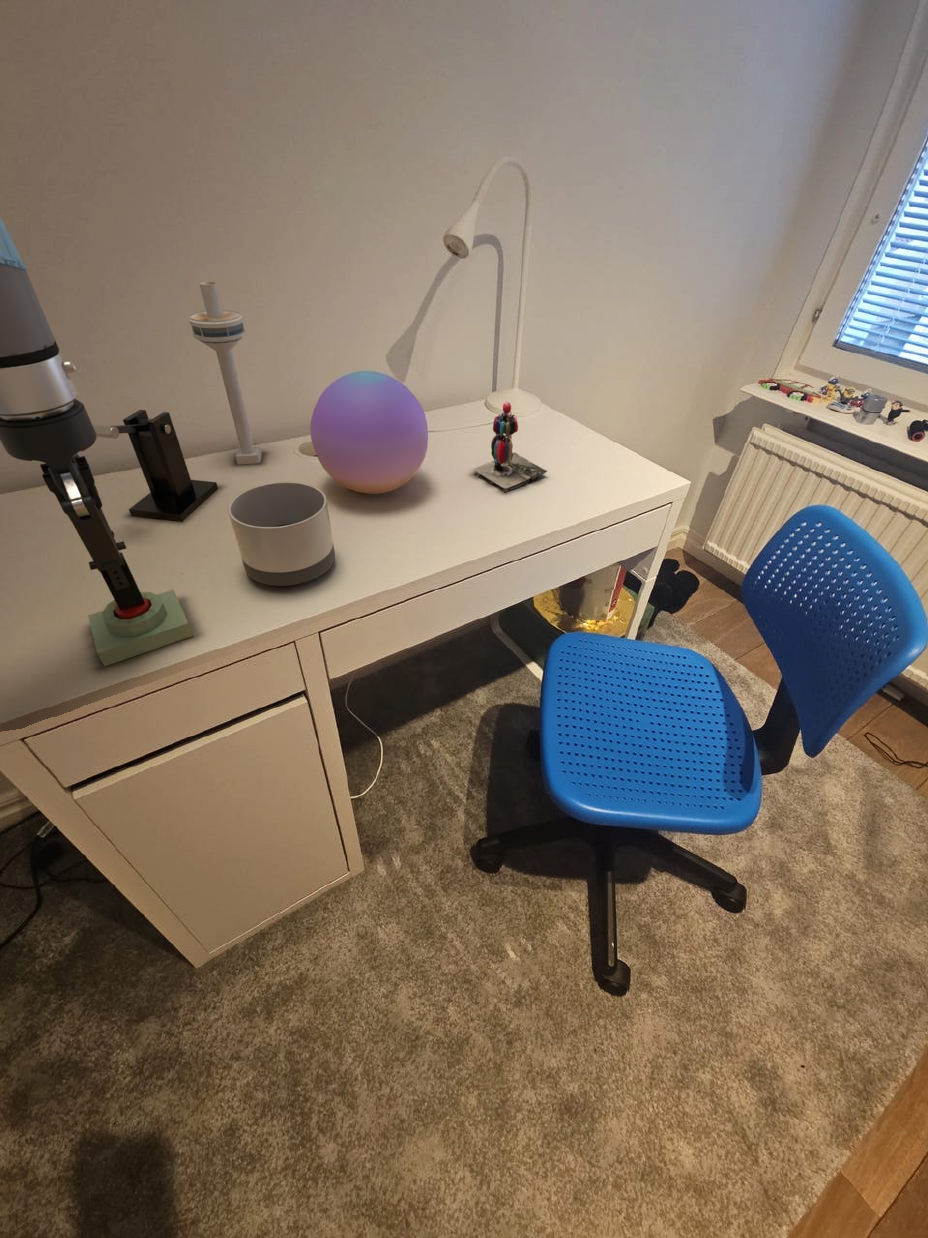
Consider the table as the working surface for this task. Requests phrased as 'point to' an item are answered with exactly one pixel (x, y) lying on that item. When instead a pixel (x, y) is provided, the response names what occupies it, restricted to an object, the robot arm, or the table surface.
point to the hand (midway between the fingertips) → (131, 603)
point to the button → (133, 610)
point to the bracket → (165, 472)
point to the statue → (507, 456)
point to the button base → (139, 628)
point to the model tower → (226, 361)
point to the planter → (283, 532)
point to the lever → (123, 429)
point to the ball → (369, 432)
